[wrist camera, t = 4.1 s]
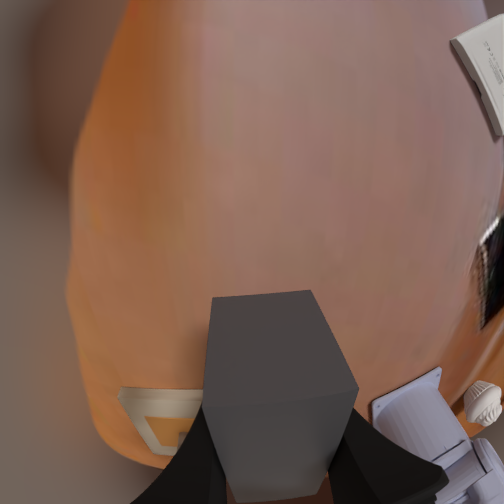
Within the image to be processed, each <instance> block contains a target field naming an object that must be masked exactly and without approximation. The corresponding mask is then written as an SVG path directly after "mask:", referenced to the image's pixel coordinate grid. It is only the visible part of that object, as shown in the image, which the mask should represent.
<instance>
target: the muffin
mask: <svg viewBox="0 0 504 504" xmlns="http://www.w3.org/2000/svg"><path fill="white" fill-rule="evenodd" d="M500 397H501V389H500V387H498V386H494V384H491V383H487V382H484V381H477V382H475V383H474V384H473V385H471V386H470V387H469V388H468V390H467V391H466V392H465V394H464V409H465V414H466V420H467V421H468V422H471V423H474V422H476V423H481V425H482V426H488V425H490V424H491V423H493V422H494V421H496V419H497V418H498V417H499V415H500V413H501V411H502V406H501V405H500V401H501V400H500Z"/></svg>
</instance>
